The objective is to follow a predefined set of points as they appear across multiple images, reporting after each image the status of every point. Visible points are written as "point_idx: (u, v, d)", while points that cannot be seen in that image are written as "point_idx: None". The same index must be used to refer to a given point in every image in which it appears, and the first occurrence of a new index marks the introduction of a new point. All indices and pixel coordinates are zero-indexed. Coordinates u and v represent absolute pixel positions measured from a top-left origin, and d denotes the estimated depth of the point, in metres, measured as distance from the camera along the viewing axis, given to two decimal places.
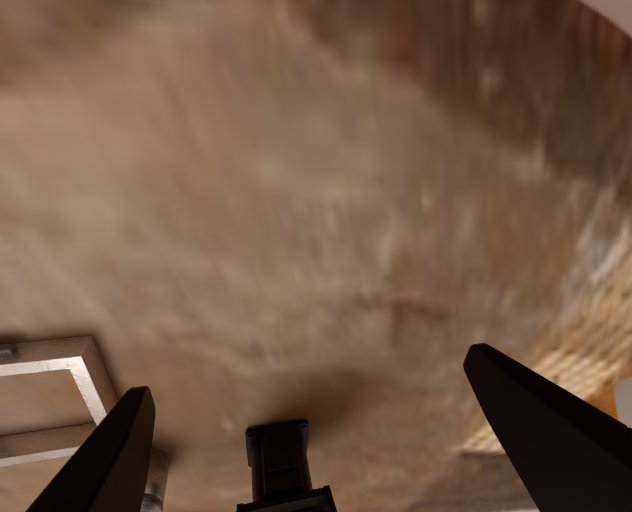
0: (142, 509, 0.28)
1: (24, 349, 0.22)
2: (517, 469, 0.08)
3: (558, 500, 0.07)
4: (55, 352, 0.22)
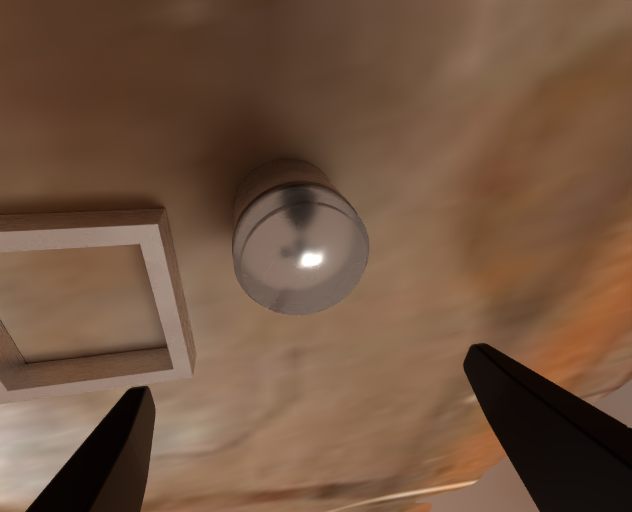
0: (250, 215, 0.13)
1: None
2: (517, 469, 0.08)
3: (558, 500, 0.07)
4: None
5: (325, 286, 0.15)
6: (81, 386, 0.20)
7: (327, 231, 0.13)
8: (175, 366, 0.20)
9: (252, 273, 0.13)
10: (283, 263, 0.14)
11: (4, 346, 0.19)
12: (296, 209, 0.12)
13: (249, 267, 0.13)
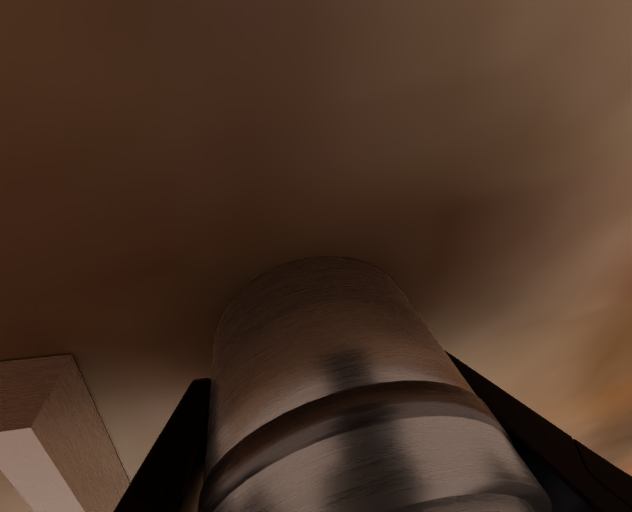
0: None
1: None
2: None
3: None
4: None
5: None
6: None
7: None
8: None
9: None
10: None
11: None
12: None
13: None
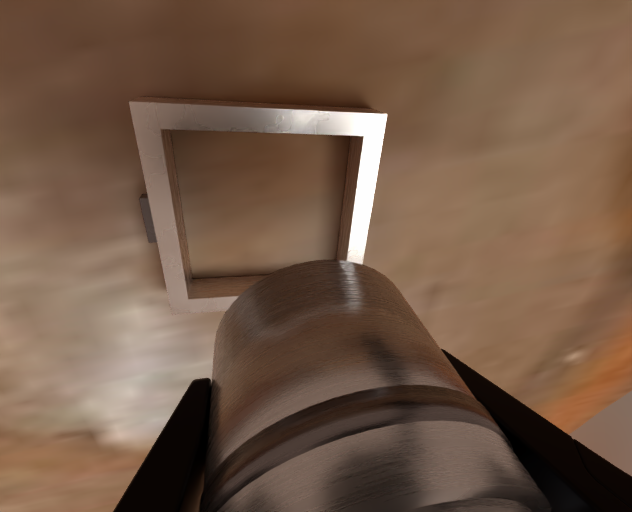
0: None
1: None
2: None
3: None
4: None
5: None
6: None
7: None
8: None
9: None
10: None
11: (186, 253, 0.18)
12: None
13: None
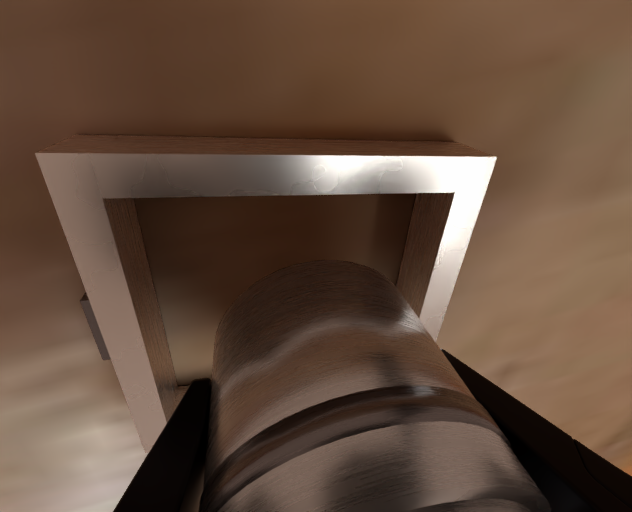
0: None
1: None
2: None
3: None
4: None
5: None
6: None
7: None
8: None
9: None
10: None
11: (165, 362, 0.12)
12: None
13: None
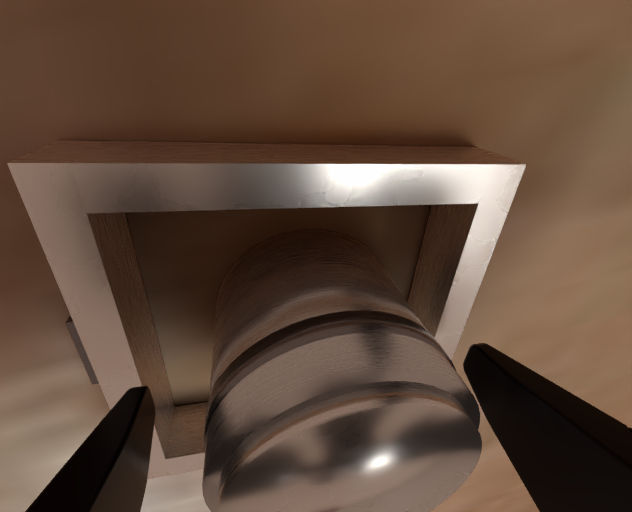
0: (241, 408, 0.06)
1: None
2: (517, 469, 0.08)
3: (558, 500, 0.07)
4: None
5: (388, 510, 0.07)
6: None
7: (412, 441, 0.06)
8: None
9: None
10: (309, 499, 0.06)
11: (161, 383, 0.11)
12: (351, 415, 0.05)
13: None
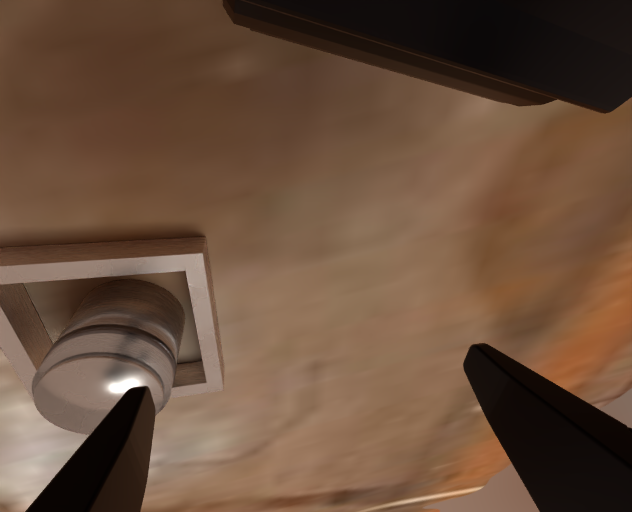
0: (42, 363, 0.15)
1: None
2: (517, 469, 0.08)
3: (558, 500, 0.07)
4: None
5: None
6: None
7: (112, 376, 0.15)
8: (208, 380, 0.22)
9: (49, 410, 0.15)
10: (77, 401, 0.15)
11: None
12: (75, 363, 0.14)
13: (44, 406, 0.15)
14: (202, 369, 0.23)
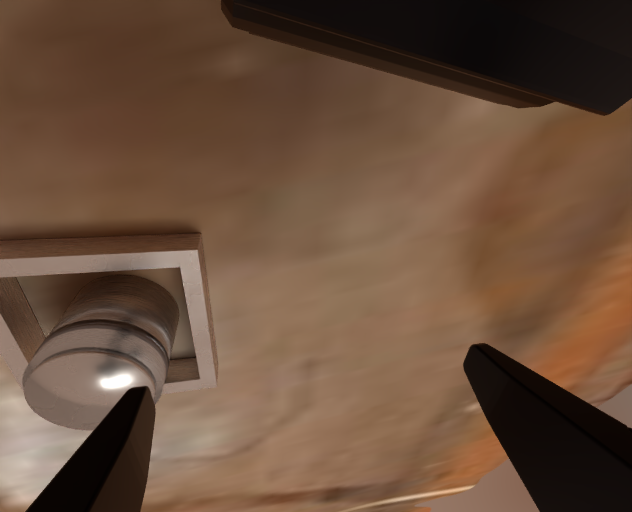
0: (33, 357, 0.15)
1: None
2: (517, 469, 0.08)
3: (558, 500, 0.07)
4: None
5: None
6: None
7: (103, 371, 0.15)
8: (201, 376, 0.22)
9: (39, 404, 0.15)
10: (68, 396, 0.15)
11: None
12: (66, 358, 0.14)
13: (35, 400, 0.15)
14: (196, 365, 0.23)
